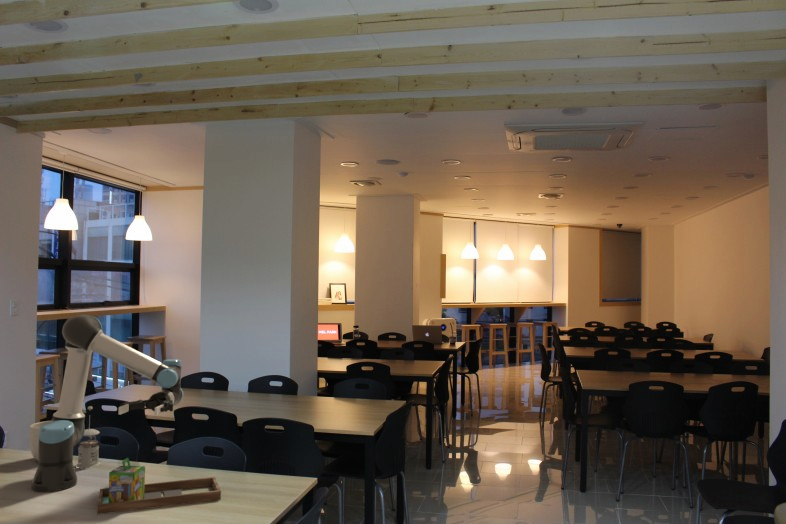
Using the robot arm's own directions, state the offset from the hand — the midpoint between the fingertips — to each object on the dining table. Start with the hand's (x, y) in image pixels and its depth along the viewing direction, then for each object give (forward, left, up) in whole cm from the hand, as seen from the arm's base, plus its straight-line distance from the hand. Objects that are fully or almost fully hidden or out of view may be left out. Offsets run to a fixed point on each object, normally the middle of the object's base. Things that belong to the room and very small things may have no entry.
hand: (137, 411), depth 222 cm
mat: (+9, -4, -30) cm, 32 cm away
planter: (-63, -34, -30) cm, 78 cm away
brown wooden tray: (+9, +8, -30) cm, 32 cm away
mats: (+9, +8, -30) cm, 32 cm away
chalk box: (+10, -3, -30) cm, 32 cm away
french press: (-47, -18, -30) cm, 58 cm away
